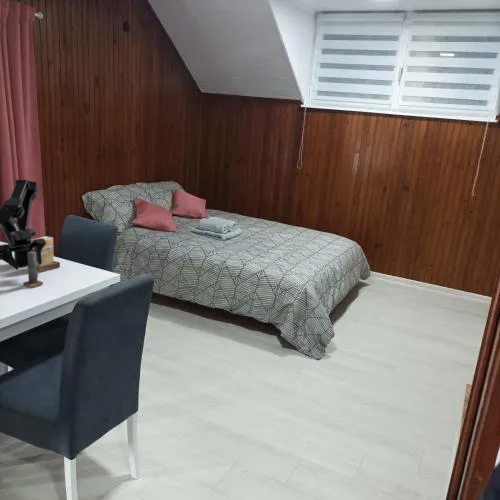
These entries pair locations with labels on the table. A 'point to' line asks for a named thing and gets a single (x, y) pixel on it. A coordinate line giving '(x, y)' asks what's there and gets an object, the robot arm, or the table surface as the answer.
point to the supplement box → (46, 252)
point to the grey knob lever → (37, 270)
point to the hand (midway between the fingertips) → (29, 266)
